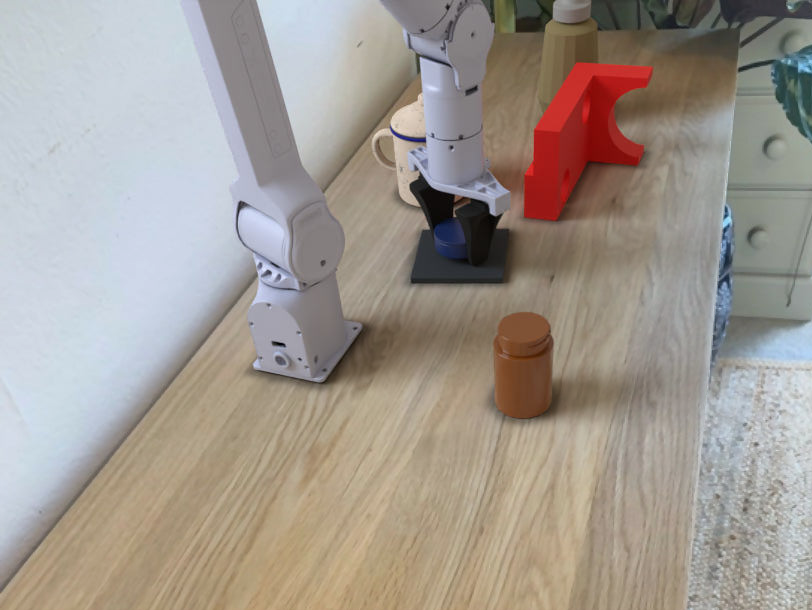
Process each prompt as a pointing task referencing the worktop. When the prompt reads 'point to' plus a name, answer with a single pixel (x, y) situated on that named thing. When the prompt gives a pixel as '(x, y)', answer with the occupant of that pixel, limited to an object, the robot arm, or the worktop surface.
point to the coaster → (459, 263)
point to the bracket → (580, 134)
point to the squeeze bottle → (566, 46)
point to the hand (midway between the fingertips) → (460, 251)
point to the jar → (523, 365)
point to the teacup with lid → (404, 145)
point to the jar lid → (450, 239)
